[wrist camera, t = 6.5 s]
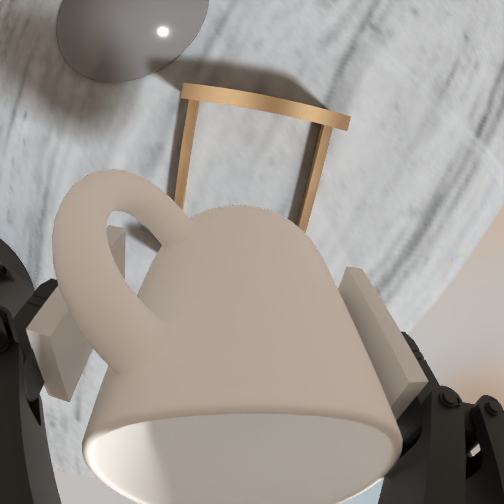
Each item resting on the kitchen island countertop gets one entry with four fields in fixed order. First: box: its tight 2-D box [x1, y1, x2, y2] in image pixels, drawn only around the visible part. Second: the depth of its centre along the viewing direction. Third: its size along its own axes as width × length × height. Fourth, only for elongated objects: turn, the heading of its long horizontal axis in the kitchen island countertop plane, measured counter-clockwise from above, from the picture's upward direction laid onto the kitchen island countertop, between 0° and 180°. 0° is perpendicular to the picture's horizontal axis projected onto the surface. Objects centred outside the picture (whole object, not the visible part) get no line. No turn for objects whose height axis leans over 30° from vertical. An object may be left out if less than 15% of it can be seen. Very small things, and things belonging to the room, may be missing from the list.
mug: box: [52, 169, 403, 504], centre depth 10 cm, size 12×8×10 cm
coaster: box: [57, 0, 209, 82], centre depth 20 cm, size 15×15×1 cm
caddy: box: [174, 83, 351, 233], centre depth 27 cm, size 13×17×5 cm
